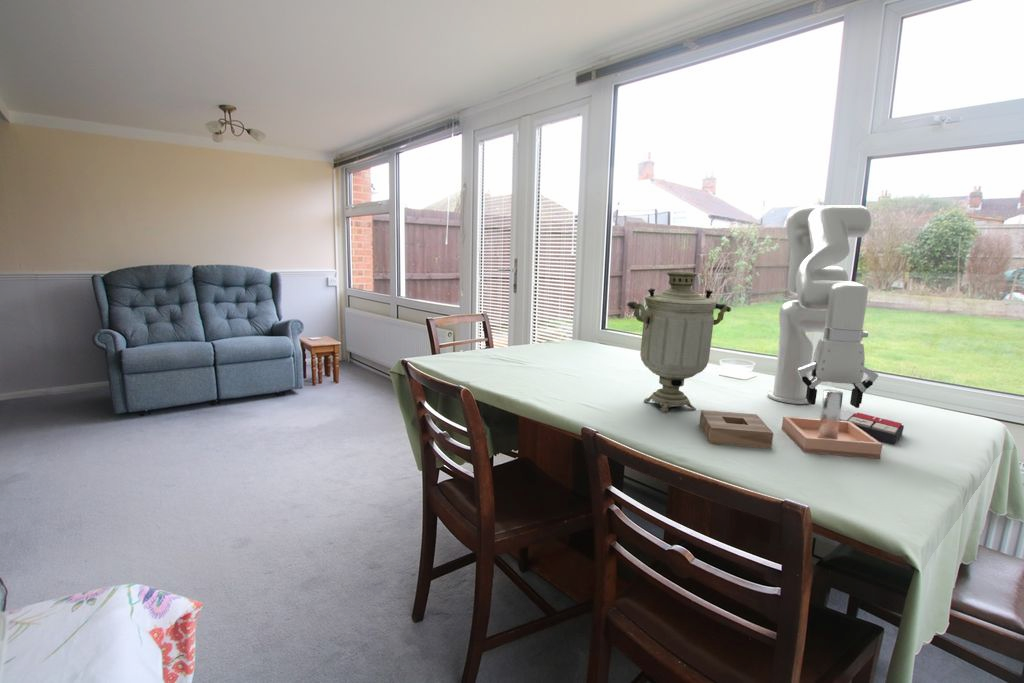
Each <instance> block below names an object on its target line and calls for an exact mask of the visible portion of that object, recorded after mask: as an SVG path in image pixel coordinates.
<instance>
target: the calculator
mask: <svg viewBox="0 0 1024 683" xmlns="http://www.w3.org/2000/svg"><path fill="white" fill-rule="evenodd" d="M840 421H850V422H851V423H853V424H854V425H856V426H857V427H859V428H860V429H861V430H863V431H864V432H866V433H867V434H869V435H870V436H871V437H873V438H874V439H876V440H877V441H878V442H880V443H882V444H888V445H892V446H895V445H896V444H897V443H898V441H899V440H900V438H901V437H902V435H903V432H904V425H903V422H902V423H901V422H898V421H894V420H890V419H885V418H881V417H878V416H873V415H870V414H865V413H861V412H855V411H850V410H847V409H842V408H841V414H840Z"/></svg>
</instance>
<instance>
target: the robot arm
mask: <svg viewBox="0 0 1024 683" xmlns="http://www.w3.org/2000/svg"><path fill="white" fill-rule="evenodd" d="M785 225H786V228H785V230H786V235H787V240H788V244H789V247H790V248H789V249H790V254H789V255H790V256H789V257H790V258H789V264H788V276H787V277H788V278H787V290H788V292H789V293H790V294H791V295H793V296H796V299H797V300H790V301H786V302H785V303H783V304H782V305H781V306H780V308H779V314H778V316H779V317H778V318H779V319H778V320H779V340H778V348H777V349H778V350H777V358H776V367H775V374H774V375H775V376H774V384H773V389H772V390H769V391H768V392H767V397H768V398H770V399H772V400H775V401H778V402H781V403H784V404H785V403H786V404H792V405H807V404H810V405H813V406H814V405H816V402H817V401H816V399H817V394H818V389H817V387H818V385H819V384H821V383H822V382H823V383H831V384H832V383H833V384H836V383H837V384H852V385H853V387H854V388H852V390H851V394H850V402H849V403H850V406H853V407H854V408H856V409H859V408H860V405H861V404H862V403H863V402H862V401H863V397H864V393H865V392H866V391H867V389H869V388H870V387H871V386H873V385H874V383H875V382H876V380H877V379H878V377H879V374H878V373H877V372H875V371H873V370H871V369H869V368H867V367H865V362H866V361H865V347H864V346H865V344H864V343H863V342H862V341H863V339H864V338H868V337H869V331H864V322H865V316H866V309H867V302H868V296H869V288H868V287H867V286H866V284H861V283H859V282H856V281H852V280H851V281H849V276H848V272H847V271H846V270H845V268H843V267H840V266H835V265H837V264H839V263H841V262H842V261H844V260H845V259H846V258H847V257H848V256H849V255H850V251H851V250H850V248H851V247H850V242H849V239H848V238H862V237H865V235H867V234H868V232H869V231H870V228H871V225H872V216H871V213H870V211H869V209H868V208H867V207H865V206H864V205H808V206H807V205H806V206H799V207H795V208H794V209H791V210H790V211H789V213H788V215H787V218H786V224H785ZM806 333H823V338H819V339H818V341H817V343H816V347H815V350H814V346H813V342H812V341H811V340H810V338H809V337H808V335H807V334H806ZM813 352H814V354H813ZM864 374H866V375H867V378H866V379H864ZM810 376H811V377H810Z"/></svg>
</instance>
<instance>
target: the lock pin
mask: <svg viewBox="0 0 1024 683" xmlns="http://www.w3.org/2000/svg"><path fill="white" fill-rule="evenodd" d="M843 396H844V392H843V391H840V390H838V389H837V390H836V389H823V392H822V400H821V401H822V402H821V412H820V418H819V419H820V427H819V435H818V438H828V439H838V431H839V423H840V414H841V409H842V405H843Z"/></svg>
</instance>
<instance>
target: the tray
mask: <svg viewBox="0 0 1024 683" xmlns="http://www.w3.org/2000/svg"><path fill="white" fill-rule="evenodd" d="M781 422H782V424H781V430H782V431H783V432H784V433H785V434H786V435H787V437H789V438H790V440H791V441H793V442H794V444H796V445H797V447H798V448H799V449H801V451H802V452H803V453H811V454H822V455H831V454H832V455H831V456H842V457H844V456H845V457H854V456H855V457H854V458H857V457H858V458H867V459H878V460H880V459H881V456H882V449H883V443H882V442H878V441H877V440H876V439H874V438H873V437H871V436H870V435H869V434H867V433H866V432H864V431H863V430H861V429H860V428H859V427H857V426H856V425H854V424H853V423H851V422H850V421H840V423H839V431H838V439H828V438H818V435H819V427H820V418H810V417H808V418H807V417H798V416H797V417H796V416H795V417H794V416H784V415H783V416H782V421H781Z"/></svg>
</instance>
